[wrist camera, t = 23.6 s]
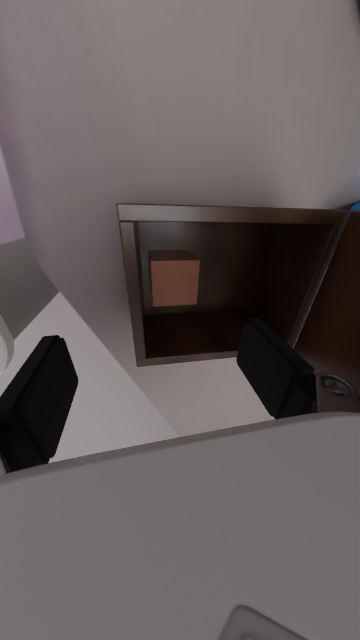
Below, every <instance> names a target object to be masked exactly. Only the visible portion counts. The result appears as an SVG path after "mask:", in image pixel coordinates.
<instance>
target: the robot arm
mask: <svg viewBox="0 0 360 640" xmlns="http://www.w3.org/2000/svg"><path fill="white" fill-rule="evenodd" d="M237 364H238V366H239V367H240V369H241V370H242V372H243V374H244V375H245V377H246V378H247V380H248V381H249V383H250V384H251V386H252V388H253V389H254V391H255V392H256V394H257V395H258V397H259V399H260V400H261V402H262V403H263V405H264V406H265V408H266V410H267V411H268V413H269V414H270V415H271V416H274V418H275V419H276V420H270V421H265V422H259V423H254V424H248V425H243V426H237V427H232V428H227V429H221V430H216V431H211V432H205V433H200V434H195V435H189V436H184V437H179V438H174V439H169V440H163V441H158V442H153V443H148V444H143V445H138V446H132V447H127V448H122V449H117V450H112V451H107V452H102V453H96V454H91V455H86V456H81V457H77V458H72V459H67V460H63V461H58V462H53V463H48V462H49V459H50V458H52V457H53V456H54V455H55V453H56V450H57V447H58V444H59V441H60V437H61V434H62V432H63V429H64V425H65V422H66V419H67V416H68V413H69V410H70V407H71V404H72V401H73V398H74V395H75V392H76V389H77V386H78V377H77V374H76V371H75V368H74V365H73V362H72V360H71V357H70V354H69V351H68V349H67V345H66V342H65V340H64V338H60V337H59V336H58V335H54V336H44V337H43V338H42V339H41V340H40V342H39V343H38V345H37V346H36V347H35V349H34V350H33V352H32V353H31V354H30V356H29V357H28V359H27V360H26V361H25V363H24V364H23V366H22V367H21V368H20V370H19V371H18V373H17V374H16V376H15V377H14V378H13V380H12V381H11V383H10V384H9V385H8V387H7V388H6V390H5V391H4V392H3V394H2V395H1V397H0V640H360V397H359V396H358V393H357V391H356V389H355V388H354V387H353V385H352V384H351V383H349V382H348V381H347V380H345V379H343V378H342V377H340V376H337V375H335V374H331V373H325V372H322V373H318V374H317V375H315V374H314V373H313V372H314V370H315V369H314V368H313V367H312V366H311V365H310V364H309V363H308V362H307V361H306V360H305V359H304V358H302V357H301V356H300V355H299V354H298V353H297V352H296V351H295V350H294V349H293V348H292V347H290V346H289V345H288V344H287V343H286V342H285V341H284V340H283V339H282V338H281V337H279V336H278V335H277V334H276V333H275V332H274V331H273V330H272V329H271V328H270V327H269V326H267V325H266V324H265V323H264V322H263V321H262V320H261V319H259V318H257V319H249V320H248V321H247V322H245V324H244V328H243V333H242V337H241V341H240V346H239V350H238V355H237Z"/></svg>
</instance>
